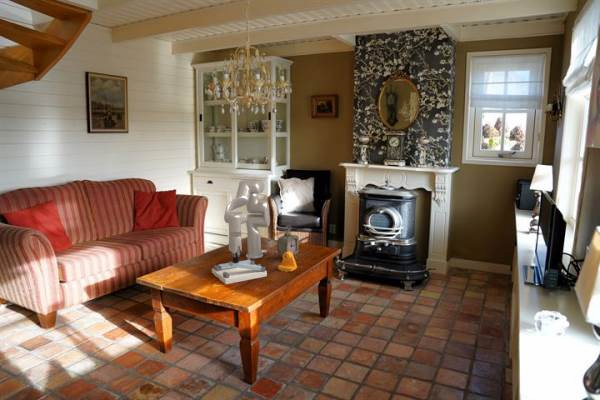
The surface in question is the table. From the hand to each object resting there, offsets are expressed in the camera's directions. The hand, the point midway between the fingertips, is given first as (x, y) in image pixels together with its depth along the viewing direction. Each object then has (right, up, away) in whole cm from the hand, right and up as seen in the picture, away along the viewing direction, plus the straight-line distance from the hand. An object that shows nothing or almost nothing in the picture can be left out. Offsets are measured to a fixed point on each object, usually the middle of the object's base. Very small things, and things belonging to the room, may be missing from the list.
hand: (235, 262), depth 282 cm
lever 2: (+6, -4, +4) cm, 8 cm away
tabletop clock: (+31, -4, +43) cm, 54 cm away
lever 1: (-3, -5, +18) cm, 19 cm away
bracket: (+31, -8, +20) cm, 38 cm away
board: (0, -9, +12) cm, 15 cm away
